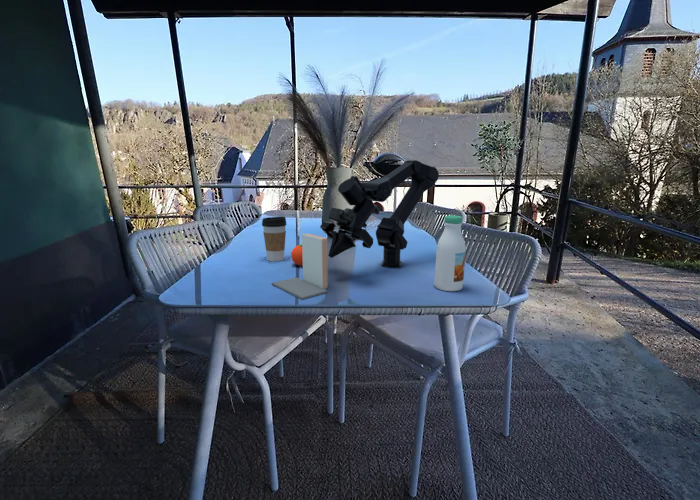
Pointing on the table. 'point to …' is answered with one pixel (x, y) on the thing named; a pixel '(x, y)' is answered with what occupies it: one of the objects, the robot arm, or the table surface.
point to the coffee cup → (274, 237)
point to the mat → (299, 288)
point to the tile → (315, 260)
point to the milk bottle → (450, 256)
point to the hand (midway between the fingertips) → (329, 256)
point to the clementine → (297, 255)
